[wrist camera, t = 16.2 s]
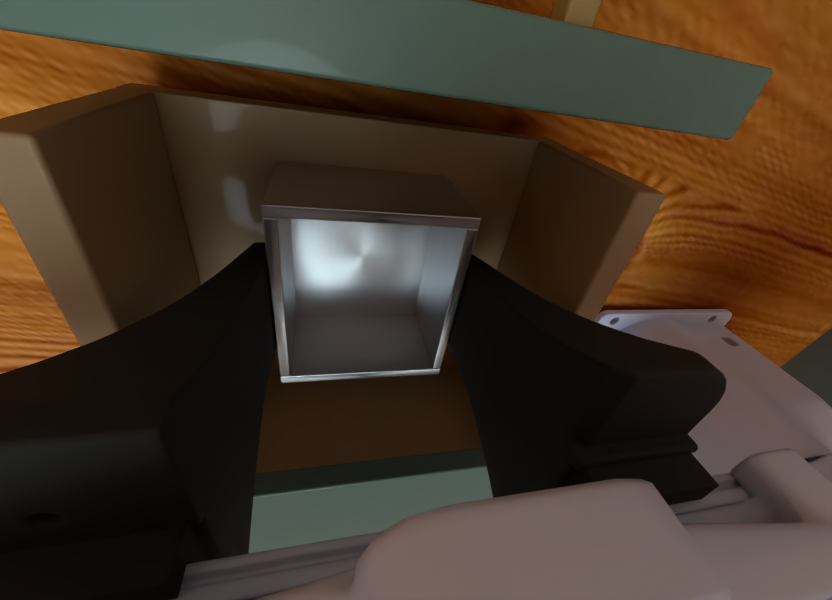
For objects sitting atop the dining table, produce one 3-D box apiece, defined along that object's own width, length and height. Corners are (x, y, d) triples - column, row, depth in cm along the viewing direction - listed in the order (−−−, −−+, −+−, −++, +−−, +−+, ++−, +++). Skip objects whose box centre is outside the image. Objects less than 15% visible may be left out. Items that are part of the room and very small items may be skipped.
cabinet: (176, 325, 14) (78, 520, 9) (495, 320, 18) (574, 455, 12) (231, 494, 23) (199, 651, 17) (441, 467, 26) (474, 589, 21)
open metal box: (446, 175, 11) (481, 217, 9) (419, 314, 14) (439, 374, 12) (276, 160, 10) (260, 204, 7) (289, 316, 13) (280, 383, 11)
